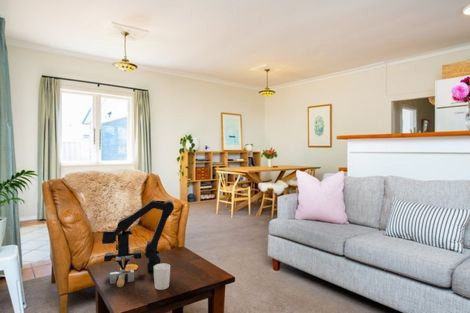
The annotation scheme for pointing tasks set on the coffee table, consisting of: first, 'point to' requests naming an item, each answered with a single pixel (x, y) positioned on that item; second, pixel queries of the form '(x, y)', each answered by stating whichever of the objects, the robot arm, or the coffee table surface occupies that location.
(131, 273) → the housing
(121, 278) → the white elongated bar
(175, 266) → the coffee table surface
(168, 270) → the white cup
